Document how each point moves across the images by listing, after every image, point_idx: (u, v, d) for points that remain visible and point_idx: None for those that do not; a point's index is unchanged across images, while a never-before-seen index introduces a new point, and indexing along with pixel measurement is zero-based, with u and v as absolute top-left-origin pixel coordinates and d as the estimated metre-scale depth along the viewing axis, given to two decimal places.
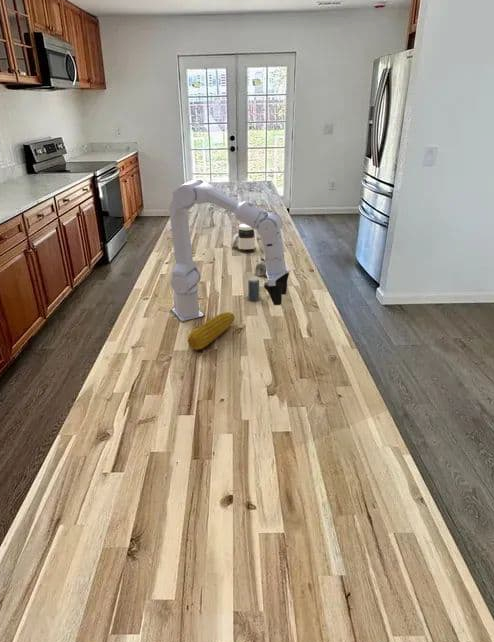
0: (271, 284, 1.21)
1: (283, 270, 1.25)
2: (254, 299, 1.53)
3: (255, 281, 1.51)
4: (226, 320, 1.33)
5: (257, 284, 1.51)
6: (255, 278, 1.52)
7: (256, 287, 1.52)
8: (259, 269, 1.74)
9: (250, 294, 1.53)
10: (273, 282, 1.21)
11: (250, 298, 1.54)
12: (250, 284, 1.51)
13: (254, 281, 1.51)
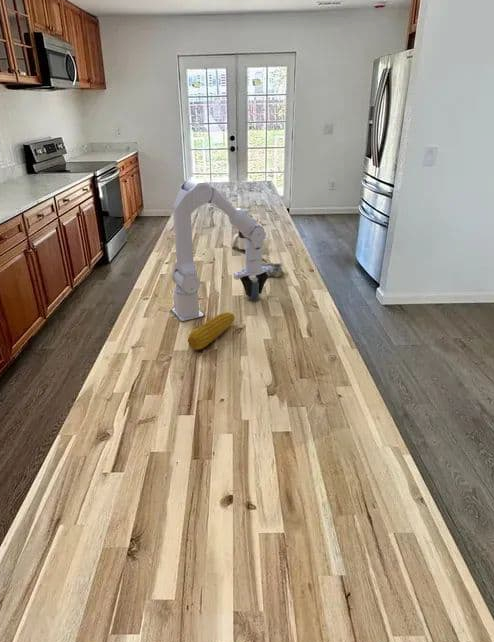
0: None
1: None
2: (254, 299, 1.53)
3: (255, 281, 1.51)
4: (226, 320, 1.33)
5: (257, 284, 1.51)
6: (255, 278, 1.52)
7: (256, 287, 1.52)
8: None
9: (250, 294, 1.53)
10: None
11: (250, 298, 1.54)
12: None
13: (254, 281, 1.51)
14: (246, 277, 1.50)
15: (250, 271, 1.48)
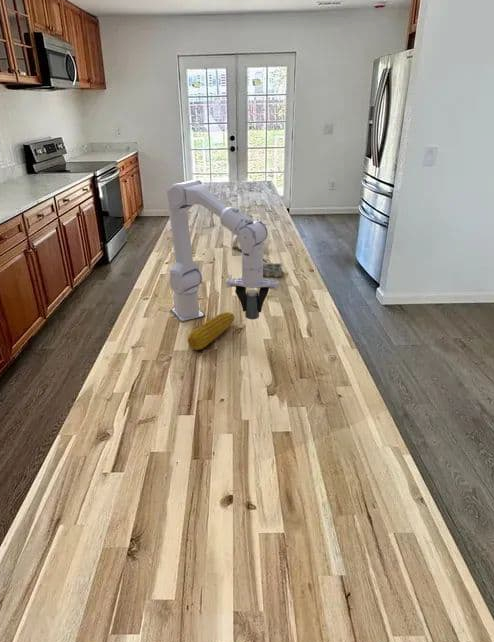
0: (278, 287, 1.21)
1: None
2: (249, 316, 1.25)
3: (251, 295, 1.22)
4: (226, 320, 1.33)
5: (253, 299, 1.22)
6: (254, 292, 1.23)
7: (251, 302, 1.22)
8: None
9: (245, 309, 1.25)
10: (278, 284, 1.21)
11: (245, 314, 1.26)
12: (245, 297, 1.23)
13: (249, 295, 1.22)
14: (240, 287, 1.22)
15: (243, 281, 1.20)
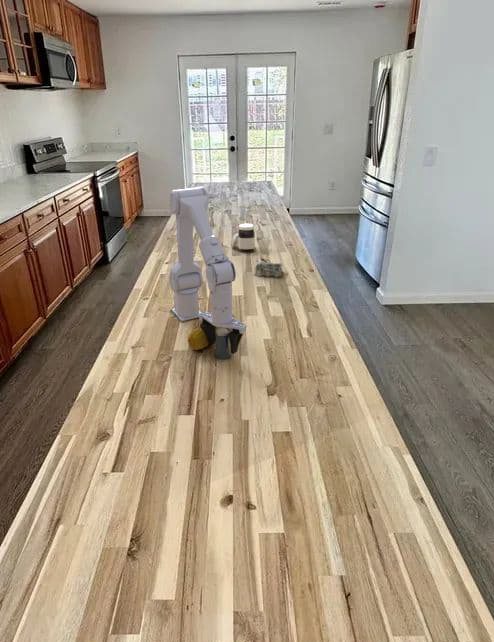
0: (244, 330, 1.15)
1: None
2: (217, 355, 1.22)
3: (218, 334, 1.19)
4: None
5: (219, 339, 1.18)
6: (223, 331, 1.19)
7: (218, 341, 1.19)
8: (259, 269, 1.74)
9: None
10: (245, 328, 1.15)
11: None
12: (215, 335, 1.20)
13: (217, 334, 1.19)
14: (206, 321, 1.21)
15: (211, 318, 1.18)
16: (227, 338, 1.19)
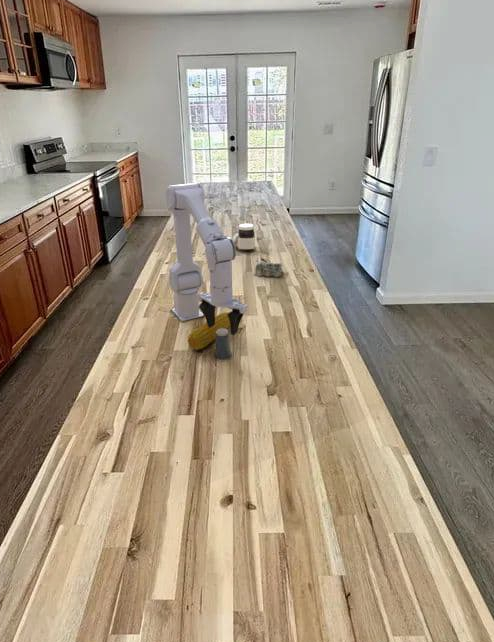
0: (244, 310, 1.12)
1: None
2: (217, 355, 1.22)
3: (218, 334, 1.19)
4: (226, 320, 1.33)
5: (219, 339, 1.18)
6: (223, 331, 1.19)
7: (218, 341, 1.19)
8: (259, 269, 1.74)
9: None
10: (246, 307, 1.13)
11: None
12: (215, 335, 1.20)
13: (217, 334, 1.19)
14: (205, 302, 1.18)
15: (211, 298, 1.15)
16: (227, 338, 1.19)
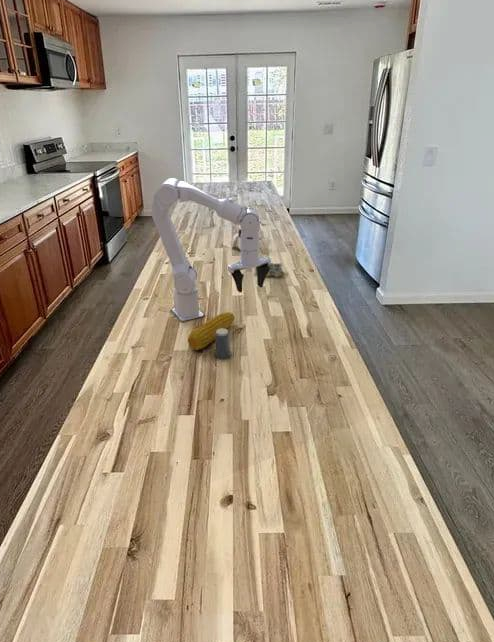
0: None
1: None
2: (217, 355, 1.22)
3: (218, 334, 1.19)
4: (226, 320, 1.33)
5: (219, 339, 1.18)
6: (223, 331, 1.19)
7: (218, 341, 1.19)
8: None
9: None
10: None
11: None
12: (215, 335, 1.20)
13: (217, 334, 1.19)
14: (237, 271, 1.35)
15: (246, 263, 1.34)
16: (227, 338, 1.19)
